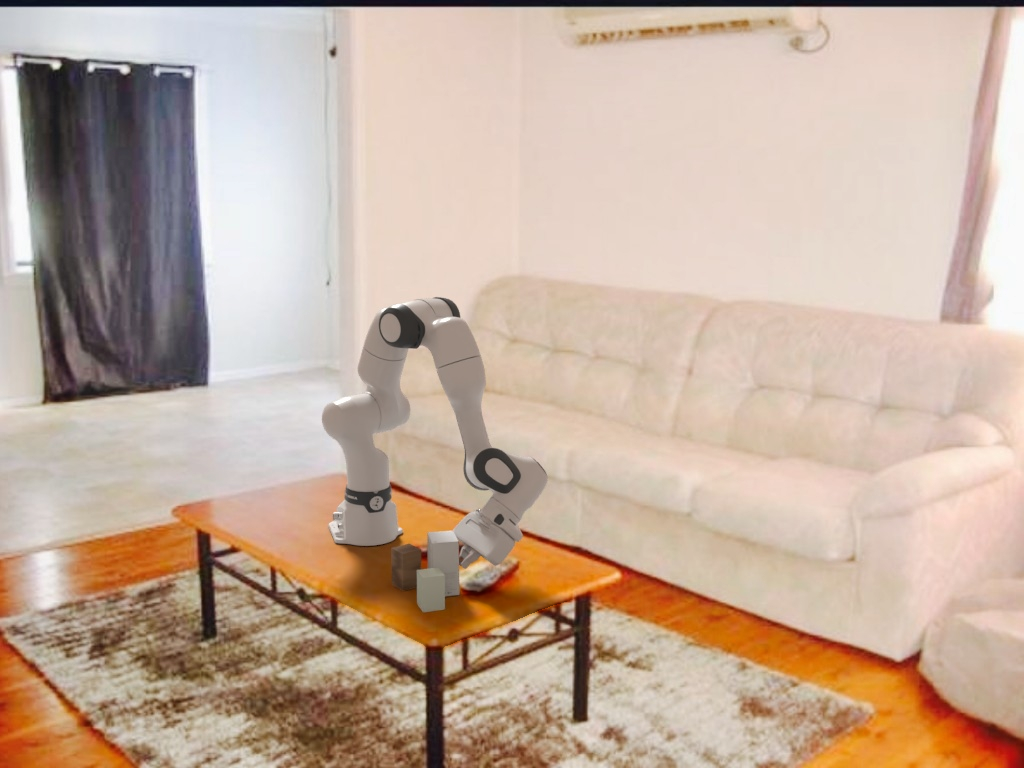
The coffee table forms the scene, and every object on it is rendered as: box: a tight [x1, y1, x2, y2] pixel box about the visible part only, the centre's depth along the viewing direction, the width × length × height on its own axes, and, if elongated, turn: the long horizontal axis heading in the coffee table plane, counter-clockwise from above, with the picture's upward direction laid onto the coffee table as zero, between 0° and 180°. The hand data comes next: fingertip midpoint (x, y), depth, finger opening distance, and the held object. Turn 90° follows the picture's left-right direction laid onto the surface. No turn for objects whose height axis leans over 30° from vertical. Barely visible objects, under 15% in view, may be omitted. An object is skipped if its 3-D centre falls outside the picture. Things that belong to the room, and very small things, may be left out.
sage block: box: [416, 567, 446, 613], centre depth 229 cm, size 5×5×8 cm
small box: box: [426, 530, 461, 597], centre depth 238 cm, size 8×6×13 cm
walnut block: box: [390, 543, 422, 592], centre depth 241 cm, size 5×5×9 cm
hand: (460, 565), depth 240 cm, fingers closed
